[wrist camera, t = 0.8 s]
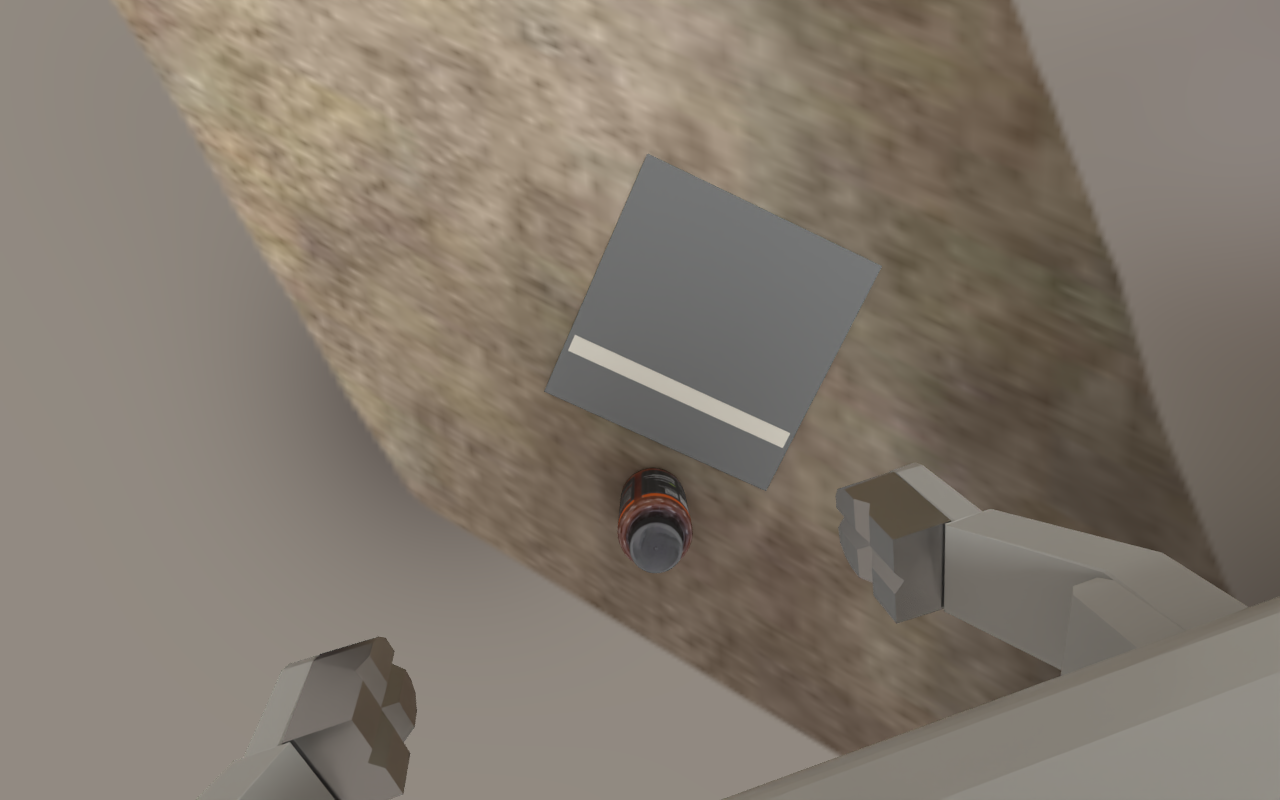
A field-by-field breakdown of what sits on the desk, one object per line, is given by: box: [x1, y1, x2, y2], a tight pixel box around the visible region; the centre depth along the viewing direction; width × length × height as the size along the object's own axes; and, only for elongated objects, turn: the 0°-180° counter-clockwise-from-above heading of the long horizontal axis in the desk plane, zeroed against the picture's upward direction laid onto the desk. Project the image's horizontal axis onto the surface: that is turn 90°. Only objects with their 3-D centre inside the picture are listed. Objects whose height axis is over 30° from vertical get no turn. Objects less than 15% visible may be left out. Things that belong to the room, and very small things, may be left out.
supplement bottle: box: [618, 468, 693, 573], centre depth 48 cm, size 6×6×11 cm
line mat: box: [544, 154, 882, 491], centre depth 51 cm, size 22×22×1 cm
